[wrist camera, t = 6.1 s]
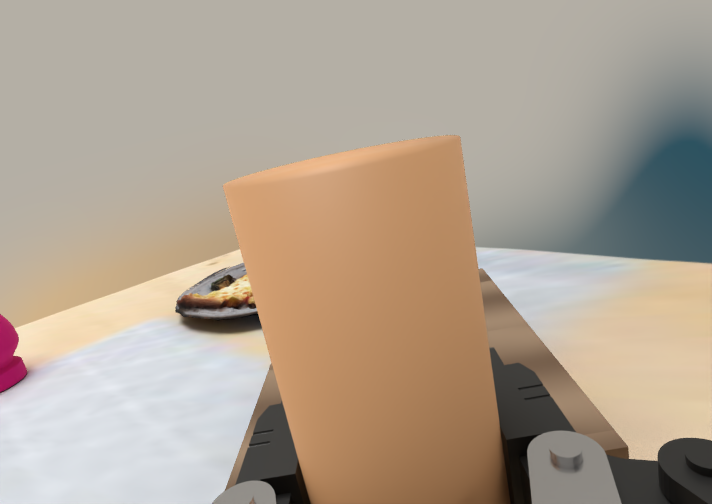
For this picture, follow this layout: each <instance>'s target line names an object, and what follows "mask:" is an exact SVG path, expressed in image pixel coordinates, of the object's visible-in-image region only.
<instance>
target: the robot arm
mask: <svg viewBox="0 0 712 504" xmlns="http://www.w3.org/2000/svg"><path fill="white" fill-rule="evenodd" d="M489 350H490V357H491V364H492V372H493V379H494V386H495V393H496V401H497V408H498V415H499V423H500V431H501V439H502V446H503V453H504V460H505V467H506V475H507V482H508V489H509V496H510V504H712V441H710V440H706V439H699V438H680V439H675V440H672V441H669V442H667V443H666V444H664V445H663V446H662V447H661V448H660V450H659V452H658V461H648V460H635V459H624V458H618V457H614V456H610V455H607V454H606V453H605V451H604V449H603V448H602V447H601V446H600V445H599V444H598V443H597V442H596V441H594V440H593V439H591V438H589V437H587V436H585V435H582V434H580V433H576V431H575V430H574V428H573V427H572V425H571V424H570V423H569V421H568V420H567V418H566V417H565V415H564V414H563V412H562V411H561V410H560V408H559V407H558V405H557V404H556V402H555V401H554V399H553V398H552V397H551V396H550V394H549V392H548V391H547V389H546V388H545V386H543V383H542V382H541V381H540V379H539V378H538V376H537V375H536V373H535V372H534V371H532V370H531V369H529V368H527V367H526V366H524V365H522V364H521V363H513V364H507V365H504V364H503V362H502V360H501V359H500V357H499V355H498V353H497V352H496V350H495V348H494V347H491V348H489ZM212 504H311V503H310V500H309V496H308V493H307V489H306V485H305V482H304V478H303V475H302V471H301V467H300V464H299V460H298V456H297V453H296V449H295V446H294V442H293V438H292V435H291V431H290V427H289V424H288V420H287V417H286V413H285V409H284V406H283V402H282V401H281V404H275V405H269V406H268V408H267V409H266V410H265V411H264V412H263V413H262V414H261V416H260V417H259V418H258V419H257V422H256V425H255V428H254V431H253V436H252V437H251V440H250V443H249V447H248V449H247V452H246V454H245V457H244V460H243V463H242V466H241V469H240V472H239V475H238V478H237V481H236V484H235V486H233V487H231V488H229V489H227V490H226V491H224V492H223V493H222V494H221V495H219V496H218V497H217V498H216V499H215V500H214V502H213V503H212Z"/></svg>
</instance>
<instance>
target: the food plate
mask: <svg viewBox="0 0 712 504" xmlns="http://www.w3.org/2000/svg"><path fill="white" fill-rule="evenodd" d="M228 268H229V267H228ZM225 269H226V268H224V269H222V270H219V271H217V272H215V273H213V274H212V275H210V276H208V277H207V278H205V279H203V280H202V281H200V282H199V283H197V284H199V285H197V284H195V285H194V286H192V287H193V288H192V287H191V288H190V290H188V291H185V292H184V293H183V294H182V295H181V296H180V297H179V298H178V300H177V301H176V302H177V304H176V305H177V306H176V307H175V308H176V310H175V311H176V313H177V312H178V313H180V314H181V315H182V316H183V317H184V316H185V317H192V318H194V317H195V318H210V319H215V320H220V319H229V318H239V317H243V316H248V315H251V314H256V313H258V312H257V308H256V304H255V301H254V297H253V293H252V290H251V286H250V283H249V279H248V275H247V272H246V268H245V264H244V263H241V264H239V265H236V266H233V267H231V268H229V269H227V270H225ZM223 270H224V271H223ZM220 271H222V272H220ZM218 272H220V273H218ZM216 273H218V274H216Z"/></svg>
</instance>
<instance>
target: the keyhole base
mask: <svg viewBox="0 0 712 504" xmlns="http://www.w3.org/2000/svg"><path fill="white" fill-rule="evenodd" d="M478 270H479V277H480V285H481V292H482V299H483V306H484V314H485V321H486V328H487V335H488V343H489V348H491V347H494V348H495V350H496V352H497V353H498V355H499V357H500V359H501V360H502V362H503V364H504V365H507V364H513V363H521V364H522V365H524V366H526V367H527V368H529V369H531V370H532V371H534V372H535V373H536V375H537V376H538V378H539V379H540V381H541V382H542V383H543V386H545V388H546V389H547V391H548V392H549V394H550V396H551V397H552V398H553V399H554V401H555V402H556V404H557V405H558V407H559V408H560V410H561V411H562V412H563V414H564V415H565V417H566V418H567V420H568V421H569V423H570V424H571V425H572V427H573V428H574V430H575V431H576V433H580V434H582V435H585V436H587V437H589V438H591V439H593V440H594V441H596V442H597V443H598V444H599V445H600V446H601V447H602V448H603V449H604V451H605V453H606V454H607V455H610V456H614V457H618V458H624V459H629V454H628V446H627V445H626V444H625V442H624V441H623V440H622V439H621V437H620V436H619V435H618V434H617V433H616V431H615V430H614V429H613V428H612V426H611V425H610V424H609V423H608V422H607V420H606V419H605V418H604V417H603V415H602V414H601V413H600V412H599V411H598V409H597V408H596V407H595V406H594V404H593V403H592V402H591V401H590V400H589V398H588V397H587V396H586V395H585V393H584V392H583V391H582V390H581V389H580V387H579V386H578V385H577V384H576V382H575V381H574V380H573V379H572V378H571V376H570V375H569V374H568V373H567V371H566V370H565V369H564V368H563V367H562V365H561V364H560V363H559V362H558V360H557V359H556V358H555V357H554V356H553V354H552V353H551V352H550V351H549V349H548V348H547V347H546V346H545V344H544V343H543V342H542V341H541V340H540V338H539V337H538V336H537V335H536V333H535V332H534V331H533V330H532V329H531V327H530V326H529V325H528V324H527V322H526V321H525V320H524V319H523V318H522V316H521V315H520V314H519V313H518V311H517V310H516V309H515V308H514V307H513V305H512V304H511V303H510V302H509V300H508V299H507V298H506V297H505V296H504V294H503V293H502V292H501V291H500V289H499V288H498V287H497V286H496V285H495V283H494V282H493V281H492V280H491V278H490V277H489V276H488V275H487V274H486V272H485V271H484V270H483V269H478ZM281 401H282V398H281V395H280V391H279V388H278V384H277V380H276V377H275V373H274V369H273V366H272V363H271V365H270V368H269V371H268V374H267V376H266V379H265V382H264V385H263V387H262V390H261V393H260V396H259V398H258V401H257V404H256V407H255V409H254V412H253V415H252V418H251V420H250V423H249V426H248V429H247V431H246V434H245V437H244V440H243V442H242V445H241V448H240V450H239V453H238V456H237V459H236V461H235V464H234V467H233V470H232V472H231V475H230V478H229V481H228V483H227V486H226V489H225V491H226V490H227V489H229V488H231V487H233V486H235V484H236V481H237V478H238V475H239V472H240V469H241V466H242V463H243V460H244V457H245V454H246V452H247V449H248V447H249V443H250V440H251V437H252V436H253V431H254V428H255V425H256V422H257V419H258V418H259V417H260V416H261V414H262V413H263V412H264V411H265V410H266V409H267V408H268V406H269V405H275V404H281Z"/></svg>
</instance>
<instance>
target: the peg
mask: <svg viewBox="0 0 712 504" xmlns="http://www.w3.org/2000/svg"><path fill="white" fill-rule="evenodd" d="M223 188H224V192H225V195H226V199H227V203H228V206H229V210H230V214H231V217H232V221H233V224H234V228H235V232H236V235H237V239H238V243H239V246H240V250H241V254H242V257H243V261H244V264H245V268H246V272H247V275H248V279H249V283H250V286H251V290H252V293H253V297H254V301H255V304H256V308H257V312H258V315H259V319H260V322H261V326H262V330H263V333H264V337H265V340H266V344H267V348H268V351H269V355H270V359H271V362H272V366H273V369H274V373H275V377H276V380H277V384H278V388H279V391H280V395H281V398H282V402H283V406H284V409H285V413H286V417H287V420H288V424H289V427H290V431H291V435H292V438H293V442H294V446H295V449H296V453H297V456H298V460H299V464H300V467H301V471H302V475H303V478H304V482H305V485H306V489H307V493H308V496H309V500H310V503H311V504H510V496H509V489H508V482H507V475H506V467H505V460H504V453H503V446H502V439H501V431H500V423H499V415H498V408H497V401H496V393H495V386H494V379H493V372H492V364H491V357H490V350H489V343H488V335H487V328H486V321H485V314H484V306H483V299H482V292H481V285H480V277H479V270H478V263H477V256H476V248H475V241H474V234H473V227H472V219H471V212H470V205H469V198H468V190H467V183H466V176H465V169H464V161H463V154H462V147H461V140H460V136H457V135H445V136H434V137H426V138H418V139H412V140H405V141H399V142H393V143H387V144H382V145H376V146H370V147H365V148H360V149H355V150H350V151H345V152H340V153H336V154H330V155H326V156H321V157H317V158H312V159H308V160H304V161H300V162H295V163H291V164H287V165H283V166H279V167H275V168H271V169H267V170H264V171H260V172H257V173H253V174H250V175H247V176H243V177H240V178H237V179H235V180H232V181H230V182H227V183H225V184H224V185H223Z"/></svg>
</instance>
